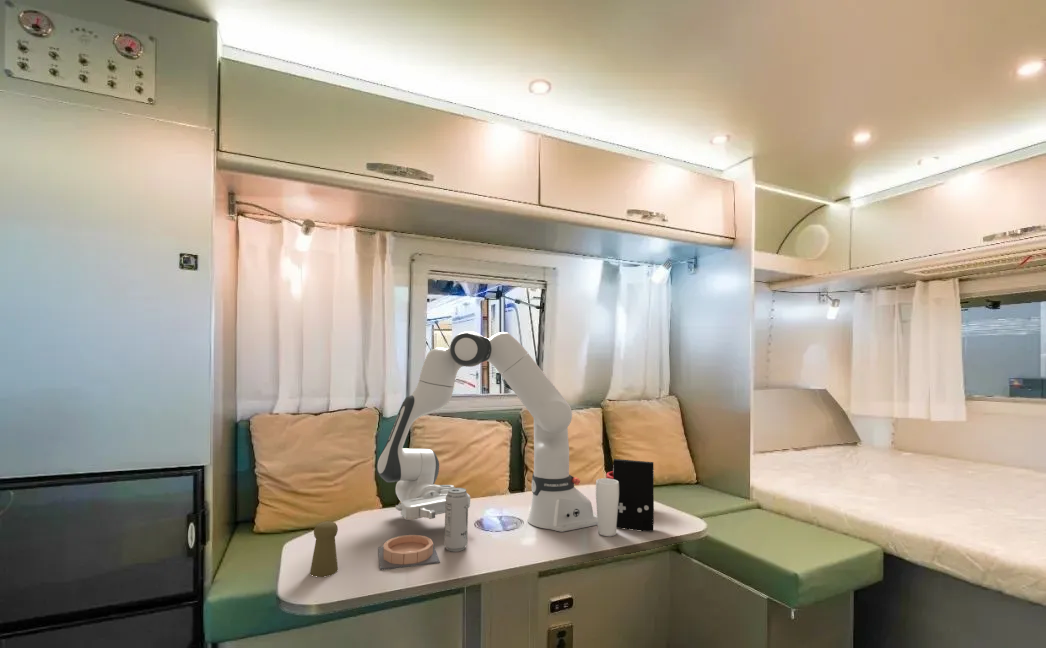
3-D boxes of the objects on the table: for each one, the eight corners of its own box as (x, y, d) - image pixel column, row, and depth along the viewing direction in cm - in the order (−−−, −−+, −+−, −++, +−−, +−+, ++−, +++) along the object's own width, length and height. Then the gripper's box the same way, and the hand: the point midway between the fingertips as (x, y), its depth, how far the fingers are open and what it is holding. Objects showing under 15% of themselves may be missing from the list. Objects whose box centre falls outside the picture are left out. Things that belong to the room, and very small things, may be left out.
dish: (432, 542, 130) (432, 531, 130) (439, 562, 117) (440, 550, 118) (378, 548, 125) (378, 537, 125) (380, 569, 113) (380, 557, 113)
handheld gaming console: (612, 528, 144) (612, 460, 145) (614, 523, 148) (614, 457, 149) (653, 533, 140) (653, 463, 141) (654, 528, 144) (654, 460, 146)
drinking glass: (618, 539, 135) (619, 484, 136) (594, 536, 136) (595, 483, 137) (619, 530, 142) (619, 479, 143) (595, 528, 143) (596, 477, 144)
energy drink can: (466, 552, 124) (468, 493, 125) (443, 552, 123) (444, 493, 124) (467, 543, 130) (469, 486, 131) (445, 543, 129) (446, 487, 130)
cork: (315, 565, 114) (317, 518, 115) (341, 565, 115) (343, 518, 116) (305, 577, 108) (308, 527, 109) (333, 577, 109) (335, 527, 110)
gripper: (393, 494, 136) (413, 507, 125) (456, 483, 148) (480, 494, 137) (392, 517, 136) (412, 532, 125) (456, 504, 148) (479, 517, 137)
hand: (448, 512), depth 131 cm, fingers open, 8 cm apart
